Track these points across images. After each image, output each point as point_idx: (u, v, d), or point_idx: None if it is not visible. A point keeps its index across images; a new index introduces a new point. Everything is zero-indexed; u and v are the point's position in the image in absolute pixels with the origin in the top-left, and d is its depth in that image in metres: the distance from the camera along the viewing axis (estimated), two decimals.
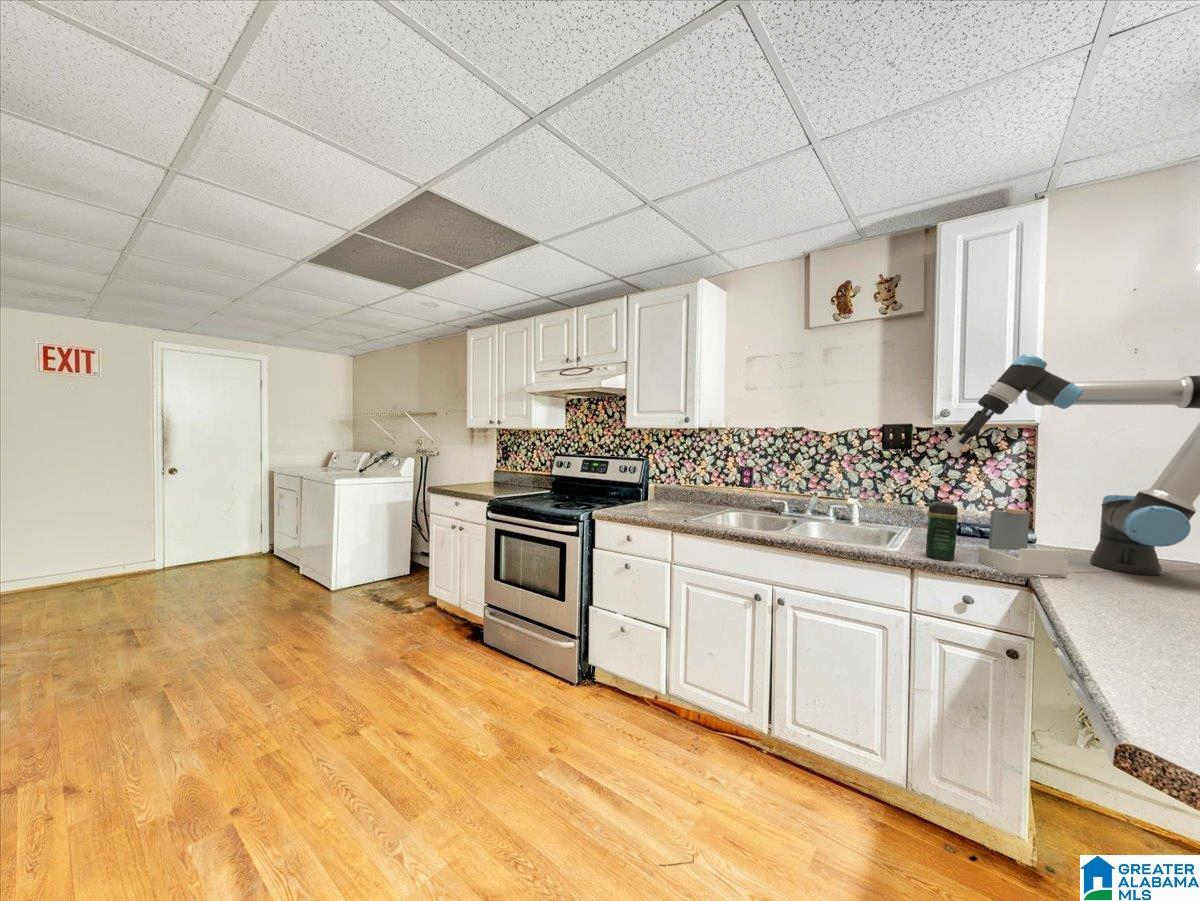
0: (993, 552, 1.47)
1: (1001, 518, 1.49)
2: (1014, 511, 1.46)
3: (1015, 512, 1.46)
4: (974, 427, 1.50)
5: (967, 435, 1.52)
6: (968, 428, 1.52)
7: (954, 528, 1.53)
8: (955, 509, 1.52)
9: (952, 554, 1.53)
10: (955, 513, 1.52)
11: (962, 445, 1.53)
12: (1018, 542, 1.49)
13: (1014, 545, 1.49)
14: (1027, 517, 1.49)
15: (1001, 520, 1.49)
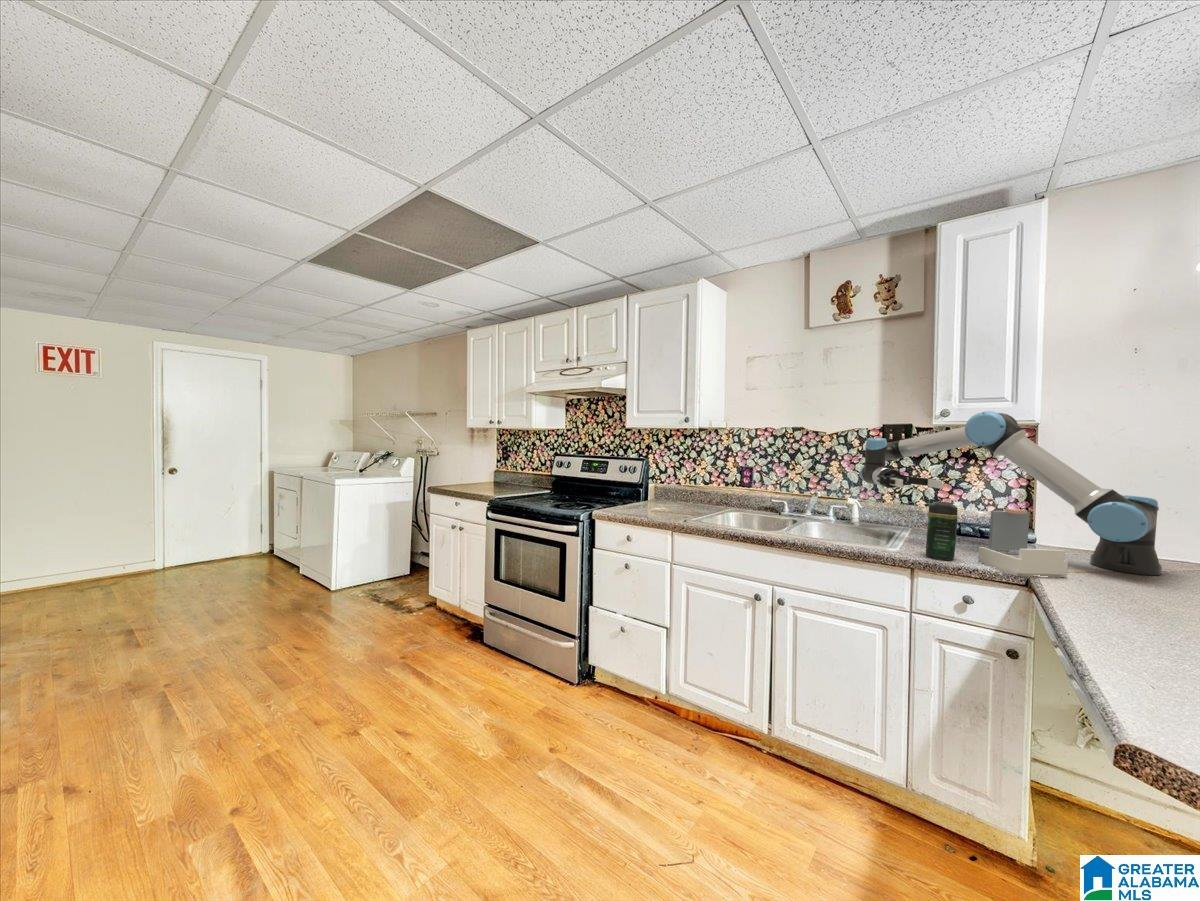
0: (993, 552, 1.47)
1: (1001, 518, 1.49)
2: (1014, 511, 1.46)
3: (1015, 512, 1.46)
4: (879, 481, 1.78)
5: (887, 481, 1.75)
6: None
7: (954, 528, 1.53)
8: (955, 509, 1.52)
9: (952, 554, 1.53)
10: (955, 513, 1.52)
11: (895, 480, 1.71)
12: (1018, 542, 1.49)
13: (1014, 545, 1.49)
14: (1027, 517, 1.49)
15: (1001, 520, 1.49)
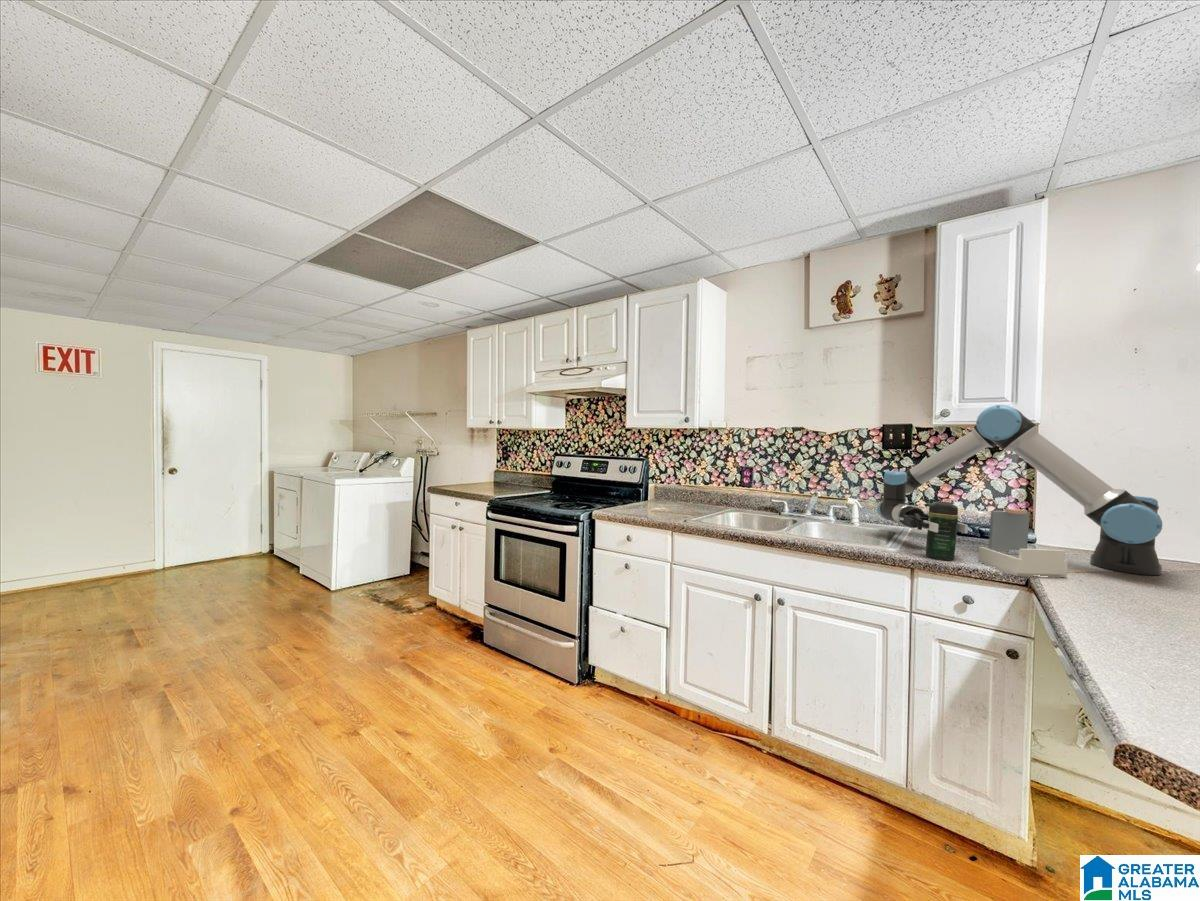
0: (993, 552, 1.47)
1: (1001, 518, 1.49)
2: (1014, 511, 1.46)
3: (1015, 512, 1.46)
4: (909, 523, 1.62)
5: (919, 524, 1.59)
6: None
7: (954, 528, 1.53)
8: (955, 509, 1.52)
9: (952, 554, 1.53)
10: (955, 513, 1.52)
11: (929, 523, 1.56)
12: (1018, 542, 1.49)
13: (1014, 545, 1.49)
14: (1027, 517, 1.49)
15: (1001, 520, 1.49)
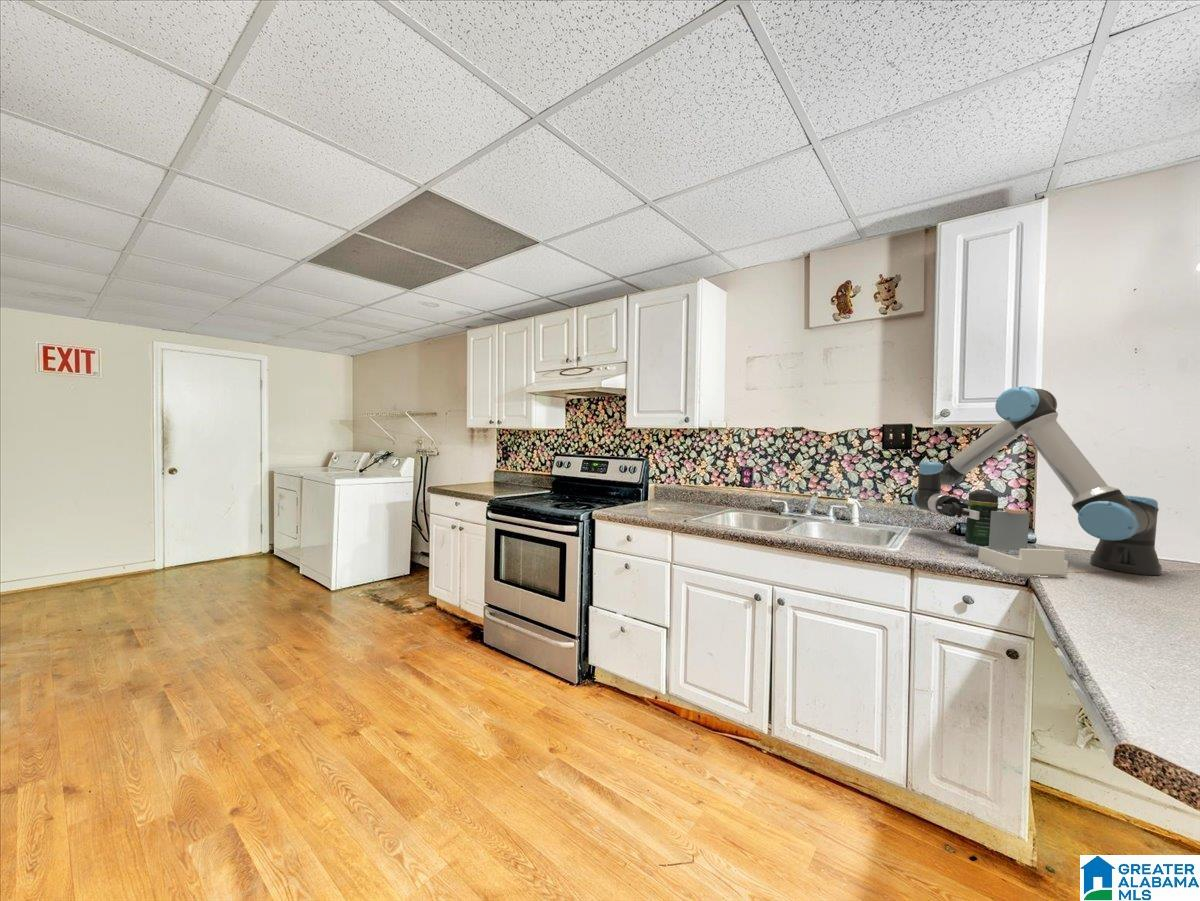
0: (993, 552, 1.47)
1: (1001, 518, 1.49)
2: (1014, 511, 1.46)
3: (1015, 512, 1.46)
4: (949, 511, 1.65)
5: (959, 512, 1.62)
6: (957, 514, 1.64)
7: None
8: (996, 497, 1.56)
9: None
10: (996, 501, 1.55)
11: (970, 511, 1.59)
12: (1018, 542, 1.49)
13: (1014, 545, 1.49)
14: (1027, 517, 1.49)
15: (1001, 520, 1.49)
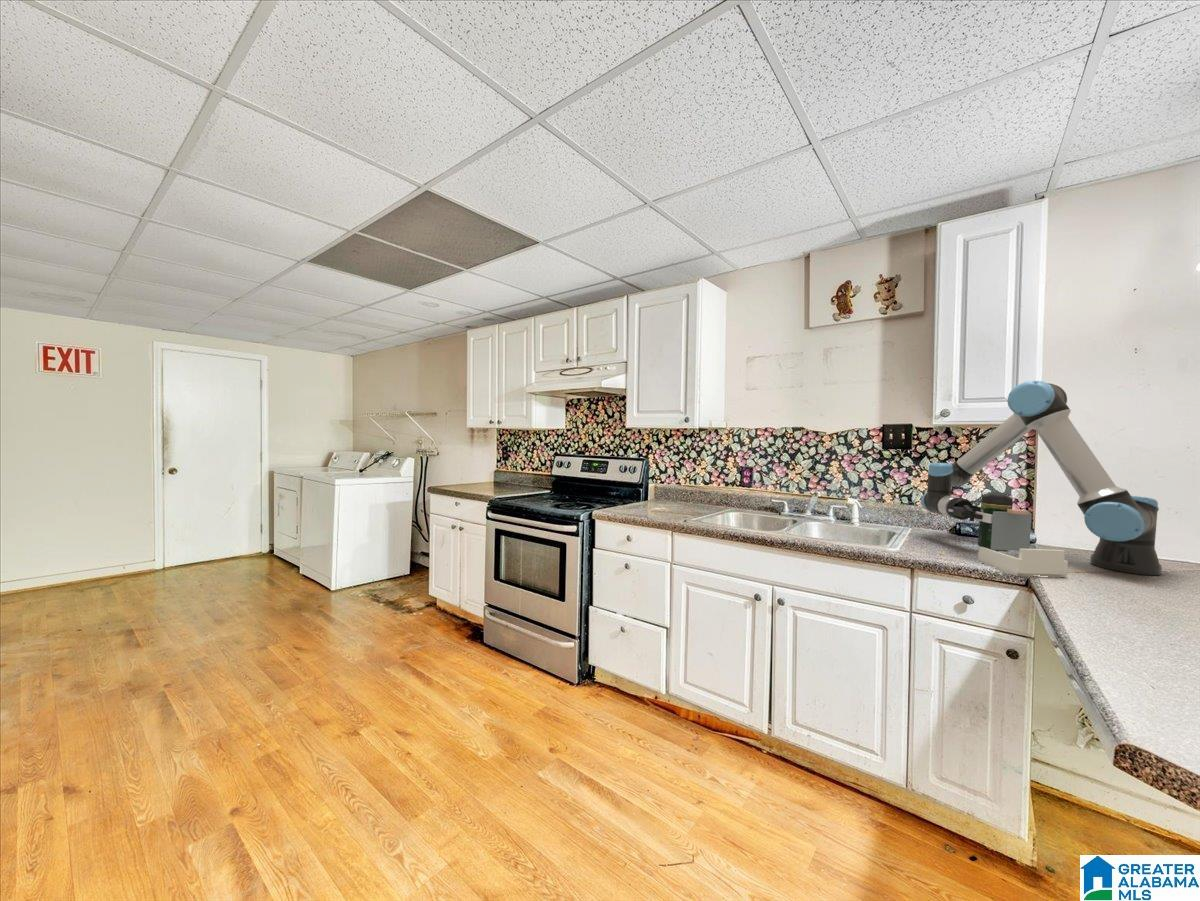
0: (993, 552, 1.47)
1: (1003, 518, 1.48)
2: (1016, 511, 1.45)
3: (1017, 512, 1.45)
4: (960, 514, 1.59)
5: (971, 515, 1.56)
6: (969, 517, 1.58)
7: None
8: (1011, 500, 1.49)
9: None
10: (1011, 504, 1.49)
11: (983, 514, 1.52)
12: (1020, 543, 1.48)
13: (1016, 546, 1.48)
14: (1029, 517, 1.48)
15: (1003, 520, 1.48)
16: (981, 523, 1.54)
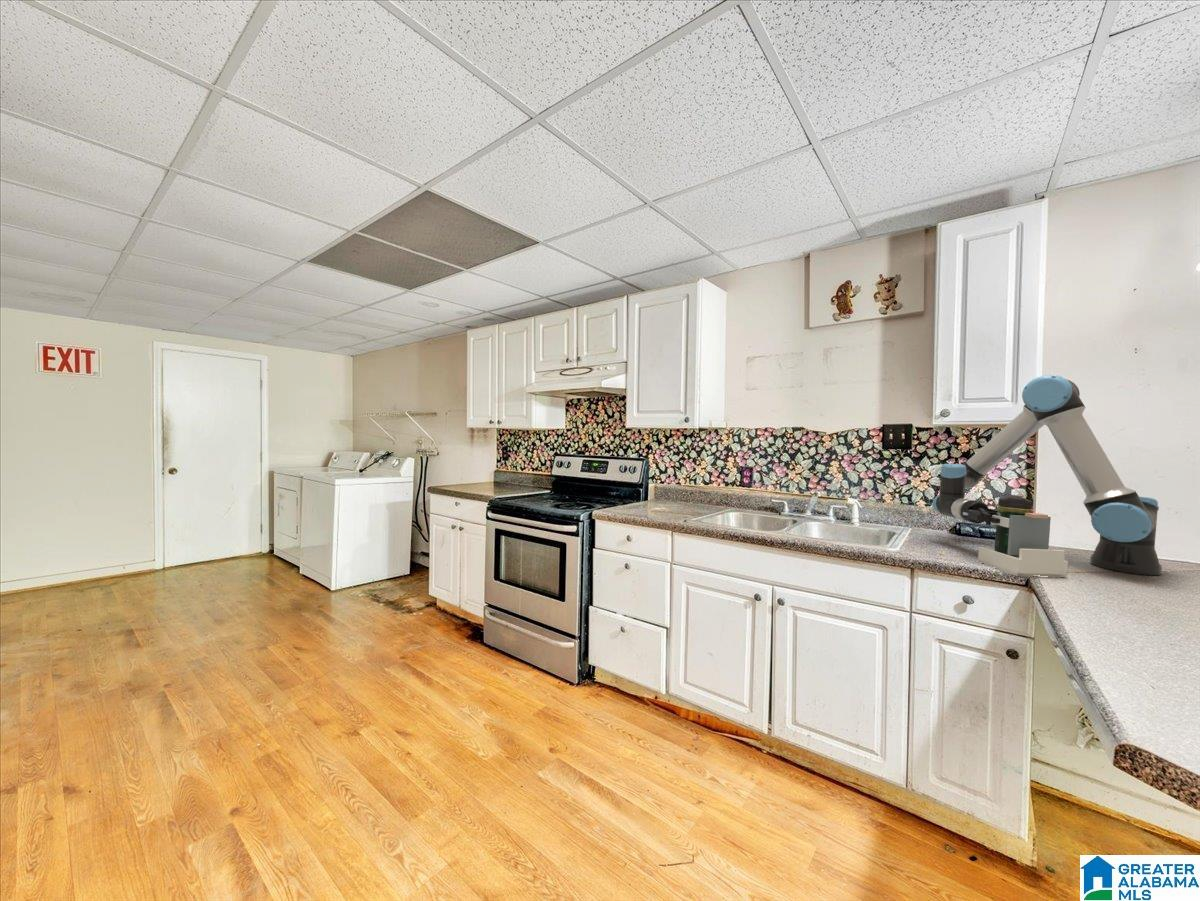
0: (993, 552, 1.47)
1: (1020, 522, 1.42)
2: (1035, 515, 1.38)
3: (1036, 516, 1.38)
4: (976, 518, 1.52)
5: (988, 519, 1.49)
6: (985, 521, 1.51)
7: None
8: (1030, 503, 1.43)
9: None
10: (1030, 507, 1.43)
11: (1000, 518, 1.46)
12: (1038, 548, 1.42)
13: None
14: (1048, 522, 1.41)
15: (1021, 525, 1.42)
16: (998, 527, 1.48)
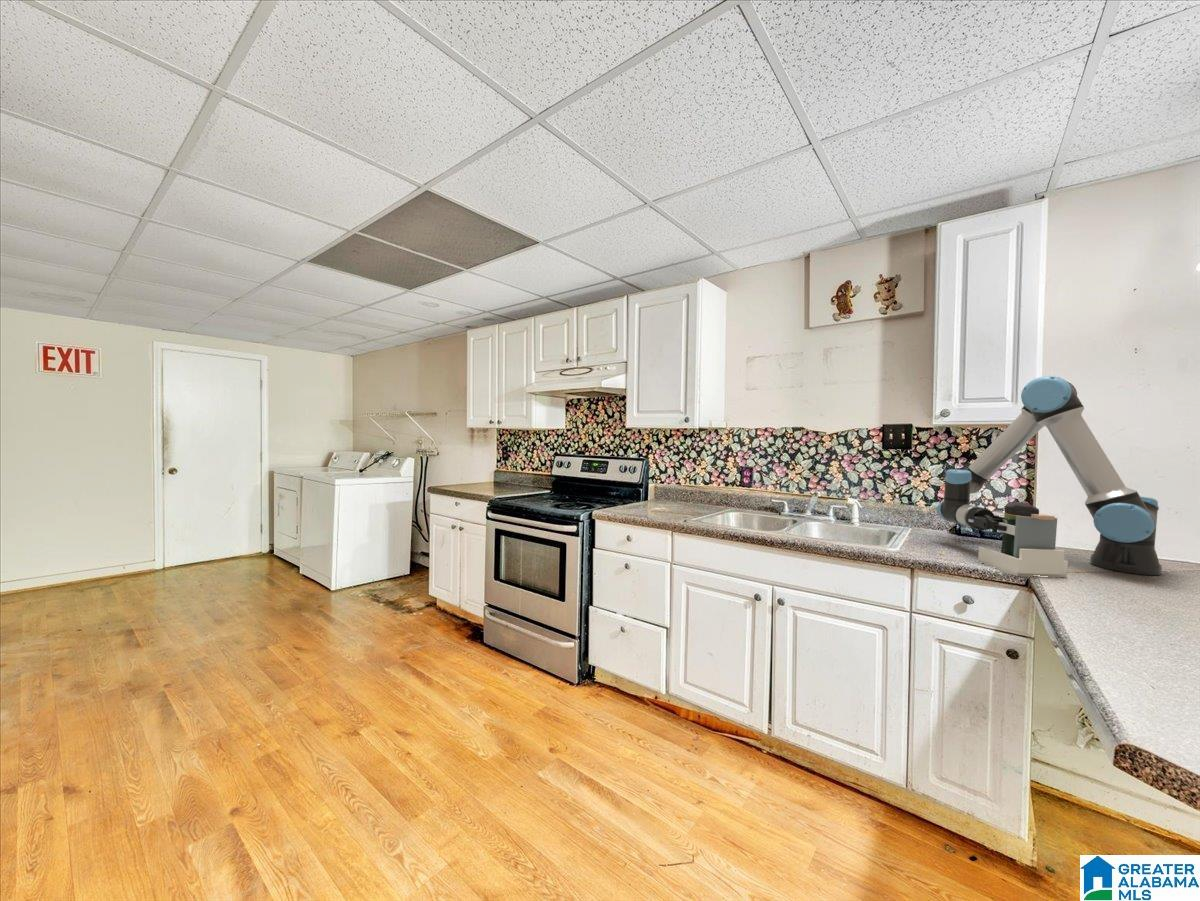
0: (993, 552, 1.47)
1: (1026, 524, 1.39)
2: (1041, 517, 1.36)
3: (1042, 518, 1.36)
4: (982, 525, 1.50)
5: (994, 527, 1.47)
6: None
7: None
8: (1037, 510, 1.41)
9: None
10: None
11: (1007, 526, 1.44)
12: None
13: None
14: (1055, 523, 1.39)
15: (1027, 526, 1.39)
16: (1005, 535, 1.46)
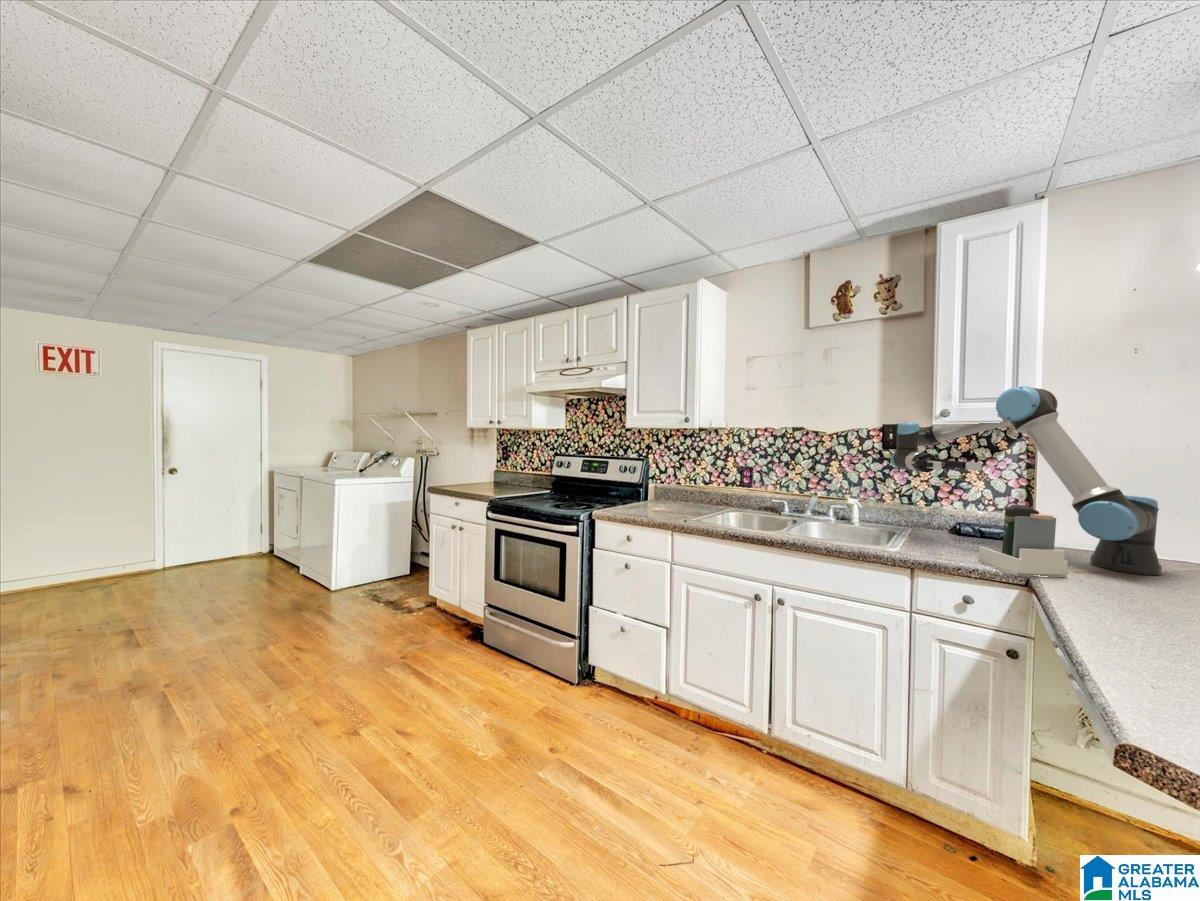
0: (993, 552, 1.47)
1: (1025, 523, 1.40)
2: (1040, 516, 1.37)
3: (1041, 518, 1.37)
4: (915, 464, 1.74)
5: (924, 464, 1.71)
6: None
7: None
8: (1037, 513, 1.41)
9: None
10: None
11: (933, 462, 1.68)
12: None
13: None
14: (1054, 523, 1.39)
15: (1026, 526, 1.40)
16: (1005, 538, 1.46)
